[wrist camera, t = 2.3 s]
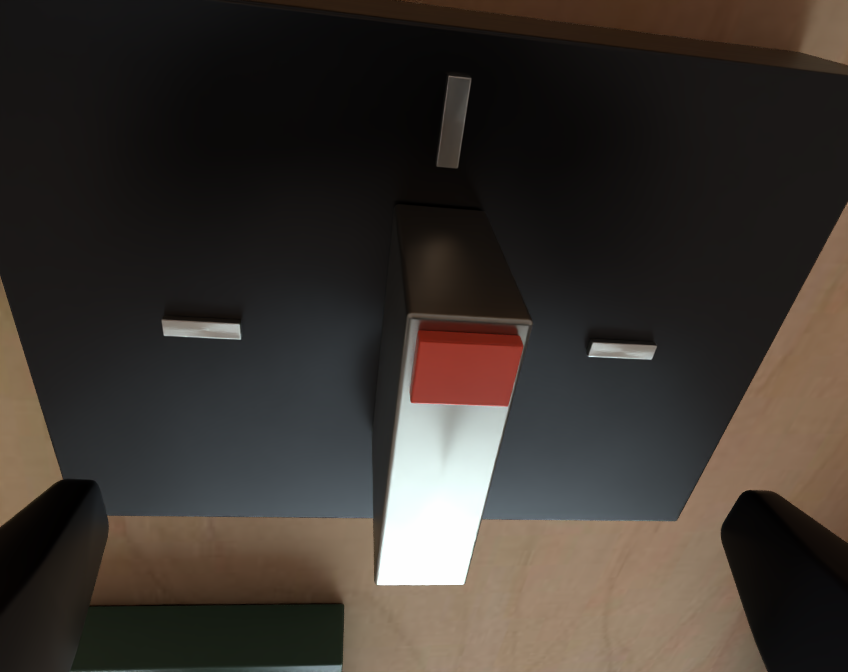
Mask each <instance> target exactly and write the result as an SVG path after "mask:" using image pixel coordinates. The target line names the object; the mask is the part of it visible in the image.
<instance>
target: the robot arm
mask: <svg viewBox="0 0 848 672" xmlns="http://www.w3.org/2000/svg"><path fill="white" fill-rule="evenodd" d="M108 530H109V524H108V518H107V514H106V510H105V506H104V502H103V499H102V495H101V491H100V487H99V485H98V483H97V482H96V481H94V480H91V479H63V480H60V481H58V482H56V483H55V484H53V485H52V486H51V487H50V488H48V489H47V490H46V491H45V492H43V493H42V494H41V495H40V496H38V497H37V498H36V499H35V500H34V501H32V502H31V503H30V504H29V505H27V506H26V507H25V508H24V509H22V510H21V511H20V512H19V513H17V514H16V515H15V516H14V517H12V518H11V519H10V520H9V521H7V522H6V523H5V524H4V525H2V526H1V527H0V672H70V669H71V666H72V664H73V661H74V658H75V655H76V652H77V648H78V645H79V641H80V638H81V634H82V631H83V627H84V623H85V619H86V616H87V612H88V608H89V605H90V601H91V597H92V594H93V590H94V586H95V583H96V579H97V575H98V571H99V568H100V564H101V560H102V557H103V553H104V549H105V546H106V542H107V538H108ZM721 540H722V544H723V547H724V550H725V553H726V556H727V559H728V562H729V565H730V568H731V571H732V575H733V578H734V581H735V584H736V587H737V590H738V593H739V596H740V599H741V602H742V605H743V608H744V611H745V614H746V617H747V620H748V623H749V626H750V629H751V631H752V634H753V637H754V640H755V643H756V645H757V647H758V650H759V652H760V655H761V657H762V660H763V662H764V664H765V667H766V669H767V671H768V672H848V543H847V542H845V541H844V540H842V539H841V538H839V537H838V536H837V535H835V534H834V533H832V532H831V531H830V530H828V529H827V528H825V527H824V526H823V525H821V524H820V523H818V522H817V521H815V520H814V519H813V518H811V517H810V516H808V515H807V514H806V513H804V512H803V511H801V510H800V509H798V508H797V507H796V506H794V505H793V504H791V503H790V502H789V501H787V500H786V499H784V498H783V497H781V496H780V495H779V494H777V493H775V492H772V491H765V490H748V491H745V492H743V493H742V494H741V495H740V496H739V498H738V499H737V501H736V503H735V504H734V506H733V508H732V509H731V511H730V512H729V514H728V516H727V517H726V519H725V521H724V522H723V524H722V528H721Z"/></svg>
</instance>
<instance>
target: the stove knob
mask: <svg viewBox="0 0 848 672" xmlns="http://www.w3.org/2000/svg"><path fill="white" fill-rule="evenodd" d="M532 325H533V322H532V318H531V316H530V314H529V312H528V309H527V307H526V305H525V302H524V300H523V298H522V295H521V293H520V291H519V289H518V286H517V284H516V282H515V279H514V277H513V275H512V272H511V270H510V268H509V266H508V263H507V261H506V259H505V256H504V254H503V252H502V249H501V247H500V245H499V243H498V240H497V238H496V236H495V233H494V231H493V229H492V226H491V224H490V222H489V220H488V217H487V215H486V213H485V212H484V211H477V210H465V209H452V208H440V207H428V206H416V205H404V204H397V205H395V207H394V214H393V224H392V235H391V245H390V255H389V266H388V276H387V287H386V297H385V307H384V318H383V328H382V339H381V349H380V359H379V370H378V380H377V391H376V401H375V411H374V422H373V432H372V477H373V536H374V581H375V583H376V585H462V584H465V581H466V578H467V574H468V570H469V566H470V562H471V559H472V555H473V551H474V547H475V543H476V539H477V536H478V532H479V528H480V524H481V520H482V516H483V513H484V509H485V505H486V501H487V497H488V493H489V490H490V486H491V482H492V478H493V474H494V470H495V467H496V463H497V459H498V455H499V451H500V447H501V444H502V440H503V436H504V432H505V428H506V424H507V421H508V417H509V413H510V409H511V405H512V401H513V398H514V394H515V390H516V386H517V382H518V379H519V375H520V371H521V367H522V363H523V359H524V356H525V352H526V348H527V344H528V340H529V336H530V333H531V329H532Z"/></svg>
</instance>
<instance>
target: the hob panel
mask: <svg viewBox="0 0 848 672" xmlns="http://www.w3.org/2000/svg"><path fill="white" fill-rule="evenodd" d="M847 202H848V65H844V64H840V63H837V62H833V61H830V60H826V59H822V58H819V57H815V56H812V55H808V54H804V53H800V52H792V51H785V50H777V49H769V48H761V47H753V46H746V45H738V44H730V43H722V42H714V41H707V40H699V39H691V38H683V37H676V36H668V35H660V34H652V33H644V32H637V31H629V30H621V29H613V28H605V27H598V26H590V25H582V24H574V23H566V22H559V21H551V20H543V19H535V18H528V17H520V16H512V15H504V14H496V13H489V12H481V11H473V10H465V9H457V8H450V7H442V6H434V5H426V4H419V3H411V2H403V1H395V0H0V276H1V279H2V282H3V286H4V289H5V292H6V295H7V299H8V302H9V305H10V308H11V312H12V315H13V318H14V321H15V325H16V328H17V331H18V334H19V338H20V341H21V344H22V347H23V350H24V354H25V357H26V360H27V363H28V367H29V370H30V373H31V376H32V380H33V383H34V386H35V389H36V393H37V396H38V399H39V402H40V406H41V409H42V412H43V415H44V419H45V422H46V425H47V428H48V432H49V435H50V438H51V441H52V445H53V448H54V451H55V454H56V457H57V461H58V464H59V467H60V470H61V474H62V477H63V479H91V480H94V481H96V482H97V483H98V485H99V487H100V491H101V495H102V499H103V502H104V506H105V510H106V514H107V516H199V517H300V518H373V477H372V432H373V422H374V411H375V401H376V391H377V380H378V370H379V359H380V349H381V339H382V328H383V318H384V307H385V297H386V287H387V276H388V266H389V255H390V245H391V235H392V224H393V214H394V207H395V205H397V204H404V205H416V206H428V207H440V208H452V209H465V210H477V211H484V212H485V213H486V215H487V217H488V220H489V222H490V224H491V226H492V229H493V231H494V233H495V236H496V238H497V240H498V243H499V245H500V247H501V249H502V252H503V254H504V256H505V259H506V261H507V263H508V266H509V268H510V270H511V272H512V275H513V277H514V279H515V282H516V284H517V286H518V289H519V291H520V293H521V295H522V298H523V300H524V302H525V305H526V307H527V309H528V312H529V314H530V316H531V318H532V322H533V325H532V329H531V333H530V336H529V340H528V344H527V348H526V352H525V356H524V359H523V363H522V367H521V371H520V375H519V379H518V382H517V386H516V390H515V394H514V398H513V401H512V405H511V409H510V413H509V417H508V421H507V424H506V428H505V432H504V436H503V440H502V444H501V447H500V451H499V455H498V459H497V463H496V467H495V470H494V474H493V478H492V482H491V486H490V490H489V493H488V497H487V501H486V505H485V509H484V513H483V516H482V519H501V520H602V521H677V519H678V518H679V516H680V514H681V512H682V510H683V508H684V506H685V505H686V503H687V501H688V499H689V497H690V495H691V493H692V491H693V490H694V488H695V486H696V484H697V482H698V480H699V478H700V477H701V475H702V473H703V471H704V469H705V467H706V465H707V463H708V462H709V460H710V458H711V456H712V454H713V452H714V450H715V449H716V447H717V445H718V443H719V441H720V439H721V437H722V435H723V434H724V432H725V430H726V428H727V426H728V424H729V422H730V420H731V419H732V417H733V415H734V413H735V411H736V409H737V407H738V406H739V404H740V402H741V400H742V398H743V396H744V394H745V392H746V391H747V389H748V387H749V385H750V383H751V381H752V379H753V378H754V376H755V374H756V372H757V370H758V368H759V366H760V364H761V363H762V361H763V359H764V357H765V355H766V353H767V351H768V350H769V348H770V346H771V344H772V342H773V340H774V338H775V336H776V335H777V333H778V331H779V329H780V327H781V325H782V323H783V321H784V320H785V318H786V316H787V314H788V312H789V310H790V308H791V307H792V305H793V303H794V301H795V299H796V297H797V295H798V293H799V292H800V290H801V288H802V286H803V284H804V282H805V280H806V279H807V277H808V275H809V273H810V271H811V269H812V267H813V265H814V264H815V262H816V260H817V258H818V256H819V254H820V252H821V251H822V249H823V247H824V245H825V243H826V241H827V239H828V237H829V236H830V234H831V232H832V230H833V228H834V226H835V224H836V222H837V221H838V219H839V217H840V215H841V213H842V211H843V209H844V208H845V206H846V204H847Z"/></svg>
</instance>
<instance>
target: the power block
mask: <svg viewBox="0 0 848 672" xmlns="http://www.w3.org/2000/svg"><path fill="white" fill-rule="evenodd" d="M343 634H344V605H343V604H312V605H207V606H103V607H89V608H88V612H87V616H86V619H85V623H84V627H83V631H82V634H81V638H80V641H79V645H78V648H77V652H76V655H75V658H74V661H73V664H72V666H71V669H70V672H342V666H343Z"/></svg>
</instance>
